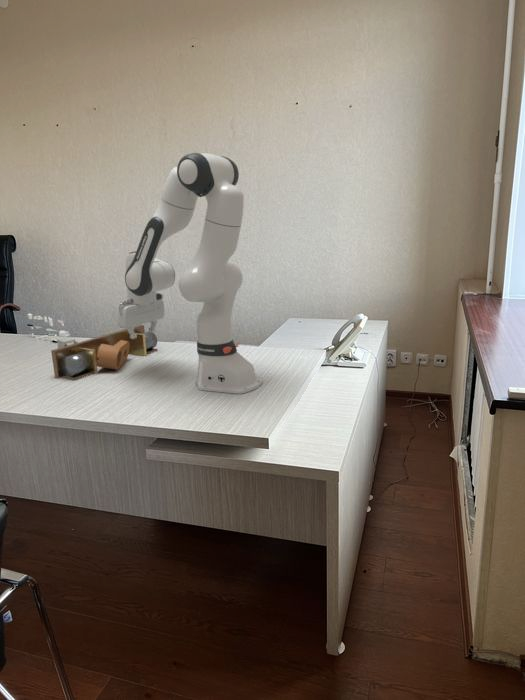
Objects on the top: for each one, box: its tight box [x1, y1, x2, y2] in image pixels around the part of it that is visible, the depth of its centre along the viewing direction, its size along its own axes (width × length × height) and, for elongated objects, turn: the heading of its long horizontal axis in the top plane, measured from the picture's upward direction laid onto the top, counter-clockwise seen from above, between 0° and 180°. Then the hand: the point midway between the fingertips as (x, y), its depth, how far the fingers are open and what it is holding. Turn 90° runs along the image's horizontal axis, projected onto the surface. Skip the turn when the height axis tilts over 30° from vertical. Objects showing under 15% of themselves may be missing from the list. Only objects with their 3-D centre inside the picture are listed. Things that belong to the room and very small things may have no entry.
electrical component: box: [56, 336, 79, 349], centre depth 216 cm, size 24×6×5 cm, turn 43°
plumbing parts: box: [27, 312, 71, 344], centre depth 236 cm, size 6×35×12 cm, turn 53°
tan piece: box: [97, 340, 130, 371], centre depth 196 cm, size 18×8×7 cm
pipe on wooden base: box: [50, 324, 158, 381], centre depth 200 cm, size 10×44×10 cm, turn 149°
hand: (143, 335), depth 190 cm, fingers open, 8 cm apart
